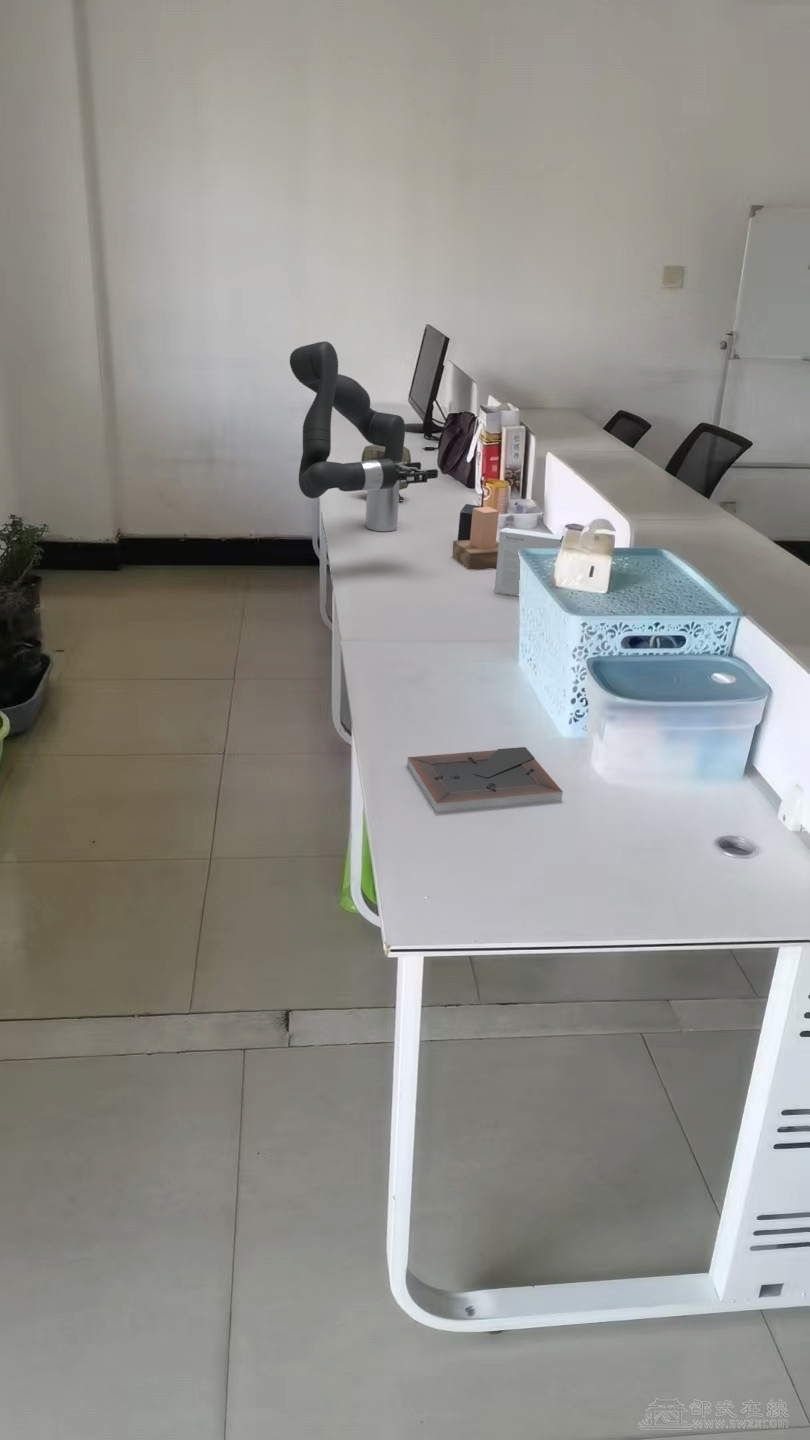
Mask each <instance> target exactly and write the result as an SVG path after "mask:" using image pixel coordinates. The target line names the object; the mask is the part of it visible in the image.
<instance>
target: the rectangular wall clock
mask: <svg viewBox="0 0 810 1440" xmlns="http://www.w3.org/2000/svg"><path fill="white" fill-rule="evenodd" d="M406 761H407V762H406V765H407V768H409V771H410V772H411V774H412V776H413V777H414V779H415V780H416V782H417V784H418V785H419V786H420V788H421V790H422V791H423V793H424V795H425V796H426V798H427V799H428V801H429V803H430V804H431V806H432V807H433V808H432V809H434V811H435V813H441V812H452V811H460V810H461V811H463V810H470V809H471V810H473V809H482V808H484V809H485V808H493V807H500V806H501V807H502V806H511V805H512V806H513V805H515V806H516V805H523V804H525V805H526V804H532V803H543V802H554V801H555V802H556V801H562V799H563V790H562V789H561V788H560V787H559V785H558V783H556V782H555V781H554V780H553V779H552V777H551V776H550V775H549V774H548V772H547V771H546V770H545V769H544V768H543V767H542V765H541V764H540V763H539V762H538V761H537V759H536V758H535V756H534V755H533V754H532V753H531V752H530V750H529V749H528V748H527V747H526V746H522V747H521V746H520V747H519V746H518V747H506V748H505V747H504V748H497V749H494V750H481V751H479V750H478V751H470V752H456V753H443V754H430V755H419V756H418V755H417V756H408V757H407V759H406Z"/></svg>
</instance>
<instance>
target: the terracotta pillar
mask: <svg viewBox="0 0 810 1440" xmlns="http://www.w3.org/2000/svg"><path fill="white" fill-rule="evenodd" d="M499 515H500V512H499V510H497V509H495V508H492V507H489V506H485V507H479V508H473V512H472V523H471V534H470V545H472V546H474V547H477V548H479V549H487V548H494V547H495V545H496V541H497V534H498V523H499Z"/></svg>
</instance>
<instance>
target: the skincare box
mask: <svg viewBox="0 0 810 1440" xmlns="http://www.w3.org/2000/svg"><path fill="white" fill-rule="evenodd" d="M562 536H564V535H562V534H554V533H547V532H539V531H531V530H524V529H517V528H508V527H504V528H502V529H501V530H499V536H498V537H499V538H498V542H499V547H498V556H497V567H496V568H495V569H496V571H495V580H494V581H495V582H494V590H493V592H495V593H494V594H499V593H501V595H506V594H510V595H509V596H512V595H516V596H515V597H519V596H518V594H519V580H520V559H519V555H518V550H519V549H523V548H558V547H559V545H560V540H561V538H562Z"/></svg>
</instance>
